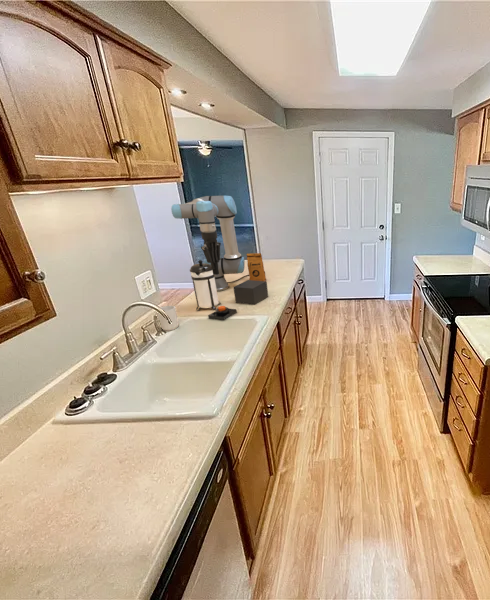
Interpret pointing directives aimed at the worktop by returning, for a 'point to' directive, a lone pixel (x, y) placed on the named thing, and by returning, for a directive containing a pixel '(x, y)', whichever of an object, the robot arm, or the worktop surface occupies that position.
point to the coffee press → (204, 285)
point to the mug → (173, 316)
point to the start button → (221, 308)
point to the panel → (222, 314)
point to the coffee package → (256, 267)
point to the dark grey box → (250, 292)
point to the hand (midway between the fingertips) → (216, 274)
